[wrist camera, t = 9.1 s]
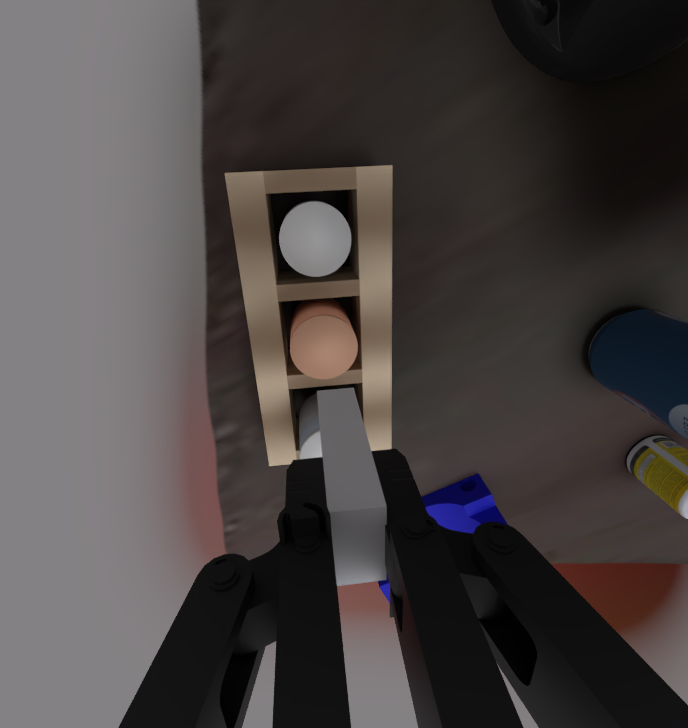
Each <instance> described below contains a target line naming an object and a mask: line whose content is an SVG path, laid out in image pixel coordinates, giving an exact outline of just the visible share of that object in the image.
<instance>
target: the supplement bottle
mask: <svg viewBox="0 0 688 728" xmlns="http://www.w3.org/2000/svg"><path fill="white" fill-rule="evenodd" d="M627 467H628V470H629V471H630V472H631V473H632V474H633V475H634V476H635V477H636V478H638V479H639V480H640V481H641V482H642V483H643V484H645V485H646V486H647V487H648V488H649V489H651V490H652V491H653V492H654V493H655V494H657V495H658V496H659V497H660V498H661V499H663V500H664V501H665V502H666V503H667V504H669V505H670V506H671V507H672V508H673V509H674V510H676V511H677V512H678V513H679V514H680V515H682V516H683V517H685V518H686V519H688V450H686V449H685V448H684V447H682V446H680V445H679V444H677V443H676V442H674V441H673V440H671V439H670V438H668V437H665V436H652V437H649V438H646V439H644V440H643V441H641V442H640V443H638V444H637V445H636V446H635V447H634V448H633V449H632V450H631V451H630V453H629V455H628V457H627Z"/></svg>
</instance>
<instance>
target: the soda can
mask: <svg viewBox="0 0 688 728" xmlns="http://www.w3.org/2000/svg"><path fill="white" fill-rule="evenodd" d="M589 361H590V366H591V370H592V372H593V375H594V376H595V378H596V379H597V381H598V382H599V383H601V384H602V385H603V386H605V387H607V388H608V389H610V390H611V391H613V392H614V393H616V394H617V395H619V396H621V397H622V398H624V399H625V400H627V401H628V402H630V403H632V404H633V405H635V406H636V407H638V408H639V409H641V410H642V411H644V412H646V413H647V414H649V415H650V416H652V417H653V418H655V419H657V420H658V421H660V422H661V423H663V424H664V425H666V426H668V427H669V428H671V429H672V430H674V431H675V432H677V433H678V434H680V435H682V436H683V437H685V438H686V439H688V321H686V320H683V319H680V318H677V317H674V316H672V315H669V314H666V313H663V312H660V311H657V310H651V309H643V310H636V311H632V312H628V313H625V314H622V315H619V316H616V317H614V318H612V319H611V320H609V321H608V322H606V323H605V324H604V325H603V326H602V327H601V328H600V329H599V330H598V331H597V333H596V334H595V336H594V337H593V339H592V341H591V344H590V347H589Z"/></svg>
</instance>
